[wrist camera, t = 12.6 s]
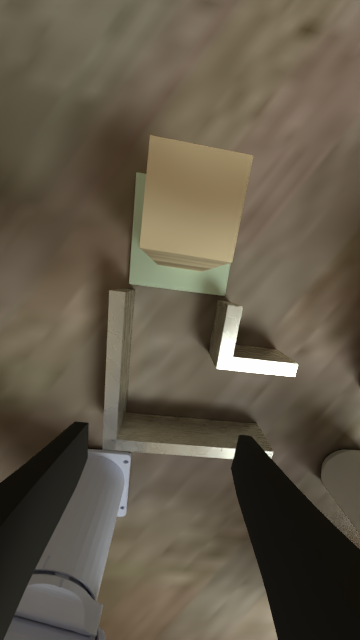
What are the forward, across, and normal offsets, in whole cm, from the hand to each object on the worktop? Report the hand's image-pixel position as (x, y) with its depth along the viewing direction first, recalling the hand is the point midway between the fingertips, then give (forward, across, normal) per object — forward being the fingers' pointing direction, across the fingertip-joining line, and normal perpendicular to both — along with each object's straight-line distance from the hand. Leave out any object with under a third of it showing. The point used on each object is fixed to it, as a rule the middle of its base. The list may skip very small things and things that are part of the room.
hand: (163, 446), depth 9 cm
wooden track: (+10, -3, +1) cm, 11 cm away
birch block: (+10, 0, -11) cm, 15 cm away
